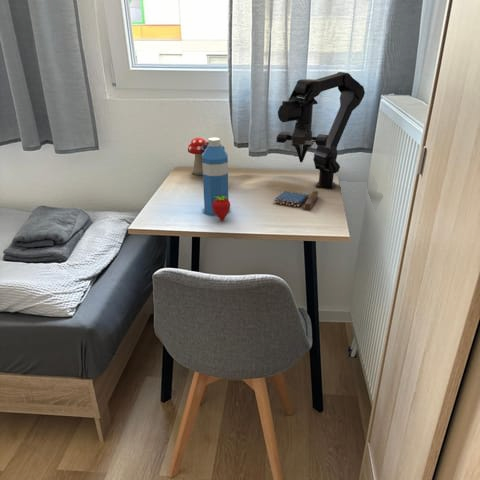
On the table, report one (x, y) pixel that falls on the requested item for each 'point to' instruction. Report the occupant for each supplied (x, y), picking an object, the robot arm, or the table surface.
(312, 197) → the bar
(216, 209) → the strawberry
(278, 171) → the table surface
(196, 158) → the decorative mushroom
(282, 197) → the woven mat
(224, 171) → the water bottle
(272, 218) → the table surface
